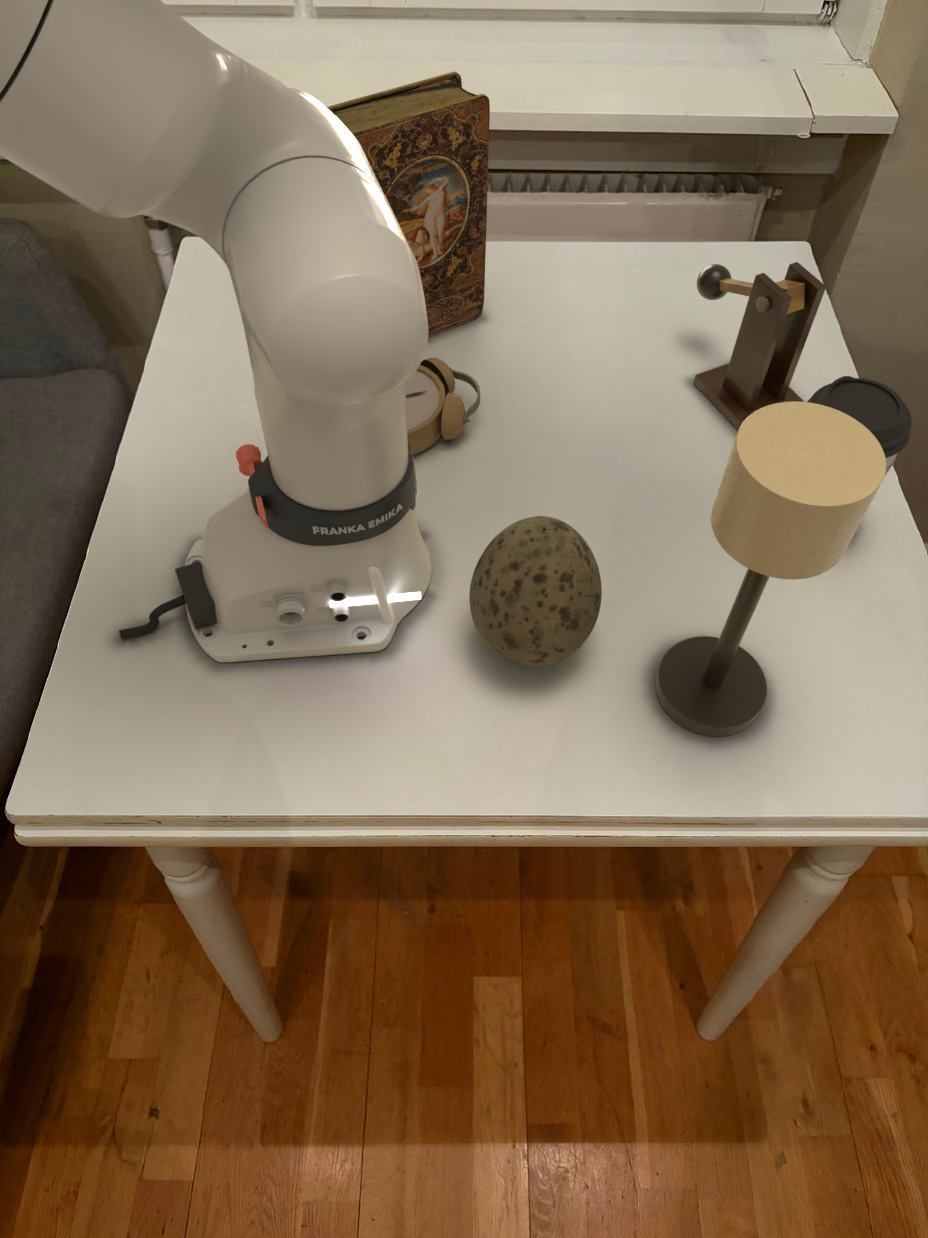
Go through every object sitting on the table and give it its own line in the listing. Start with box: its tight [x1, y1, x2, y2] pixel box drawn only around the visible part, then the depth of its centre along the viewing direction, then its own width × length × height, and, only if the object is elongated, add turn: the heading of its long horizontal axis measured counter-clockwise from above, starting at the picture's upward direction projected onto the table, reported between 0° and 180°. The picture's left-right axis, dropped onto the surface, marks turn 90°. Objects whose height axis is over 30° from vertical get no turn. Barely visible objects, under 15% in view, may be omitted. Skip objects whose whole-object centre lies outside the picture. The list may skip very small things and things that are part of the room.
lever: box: [696, 263, 805, 314], centre depth 96 cm, size 14×4×4 cm, turn 27°
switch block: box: [692, 261, 827, 431], centre depth 96 cm, size 10×8×15 cm
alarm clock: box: [406, 357, 481, 455], centre depth 98 cm, size 11×5×15 cm
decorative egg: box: [468, 515, 603, 667], centre depth 77 cm, size 11×11×15 cm
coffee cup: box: [806, 375, 913, 477], centre depth 86 cm, size 9×9×15 cm
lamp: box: [654, 401, 886, 738], centre depth 69 cm, size 9×9×28 cm
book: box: [325, 71, 491, 338], centre depth 98 cm, size 16×6×25 cm, turn 122°
